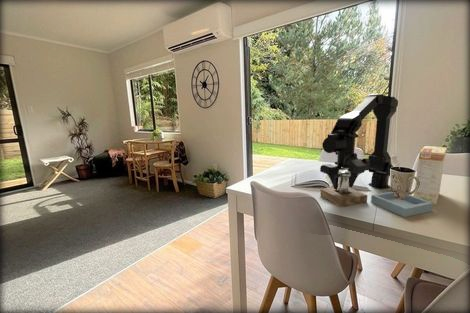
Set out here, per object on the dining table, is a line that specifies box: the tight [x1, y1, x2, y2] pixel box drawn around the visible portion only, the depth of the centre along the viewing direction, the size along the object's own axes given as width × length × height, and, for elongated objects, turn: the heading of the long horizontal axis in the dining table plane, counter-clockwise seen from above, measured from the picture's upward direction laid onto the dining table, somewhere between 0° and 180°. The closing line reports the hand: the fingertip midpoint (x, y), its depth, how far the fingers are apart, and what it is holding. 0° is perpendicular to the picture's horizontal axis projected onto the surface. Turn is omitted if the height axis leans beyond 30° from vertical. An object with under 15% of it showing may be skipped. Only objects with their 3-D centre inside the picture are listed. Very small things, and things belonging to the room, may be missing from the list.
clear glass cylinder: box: [338, 170, 351, 195], centre depth 90 cm, size 5×5×11 cm
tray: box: [370, 191, 434, 218], centre depth 82 cm, size 13×13×3 cm
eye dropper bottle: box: [390, 152, 401, 168], centre depth 118 cm, size 4×6×12 cm
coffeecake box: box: [413, 145, 447, 206], centre depth 88 cm, size 15×7×20 cm, turn 134°
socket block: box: [320, 186, 368, 208], centre depth 91 cm, size 12×12×3 cm
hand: (343, 188), depth 90 cm, fingers open, 7 cm apart
